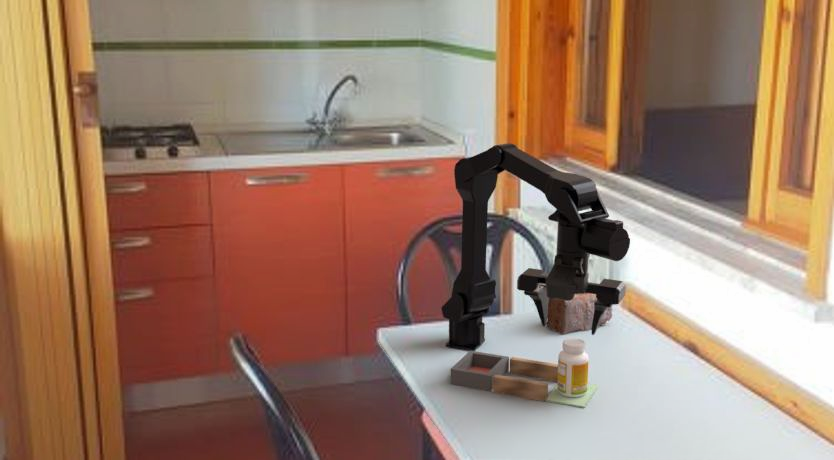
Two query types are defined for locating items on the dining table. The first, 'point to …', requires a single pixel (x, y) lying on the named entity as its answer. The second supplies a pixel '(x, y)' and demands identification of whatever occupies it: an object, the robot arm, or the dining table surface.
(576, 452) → the dining table surface
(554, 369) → the walnut trough
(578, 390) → the supplement bottle
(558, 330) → the food item
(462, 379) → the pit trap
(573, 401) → the pad
